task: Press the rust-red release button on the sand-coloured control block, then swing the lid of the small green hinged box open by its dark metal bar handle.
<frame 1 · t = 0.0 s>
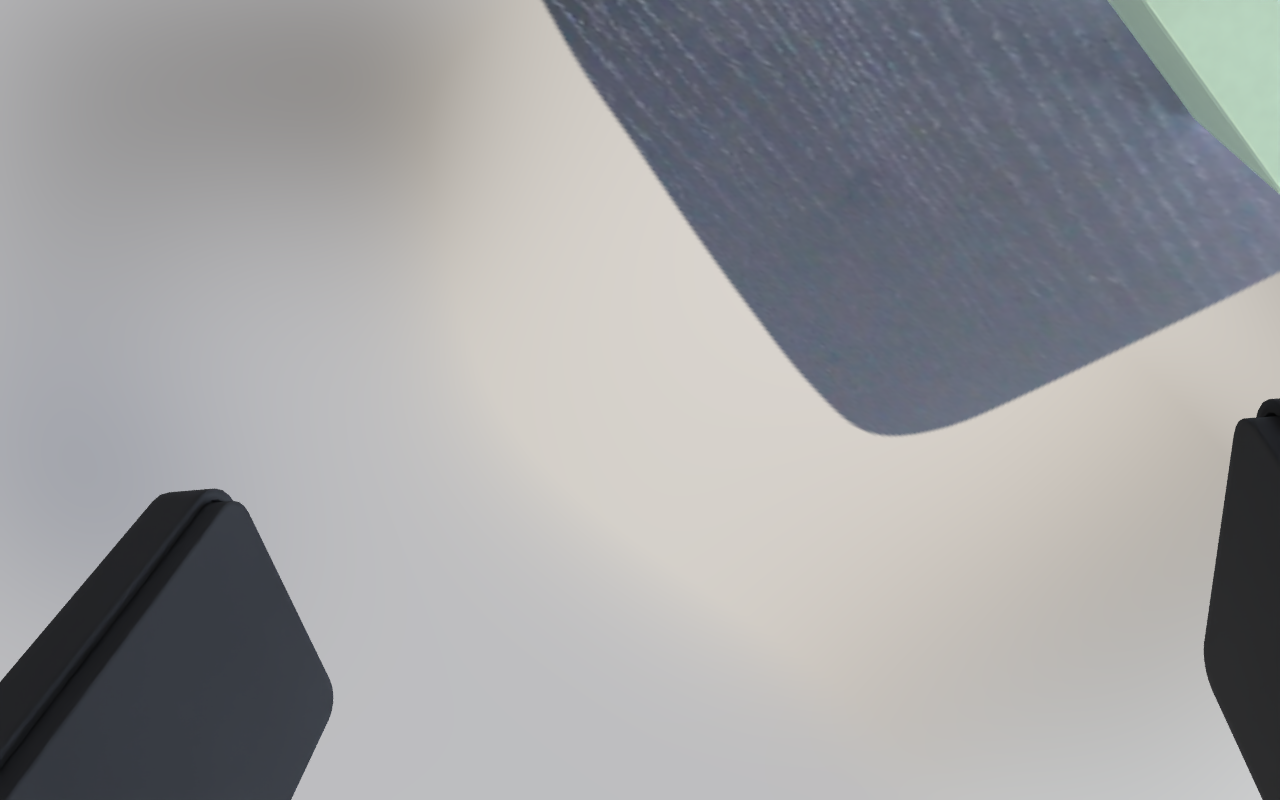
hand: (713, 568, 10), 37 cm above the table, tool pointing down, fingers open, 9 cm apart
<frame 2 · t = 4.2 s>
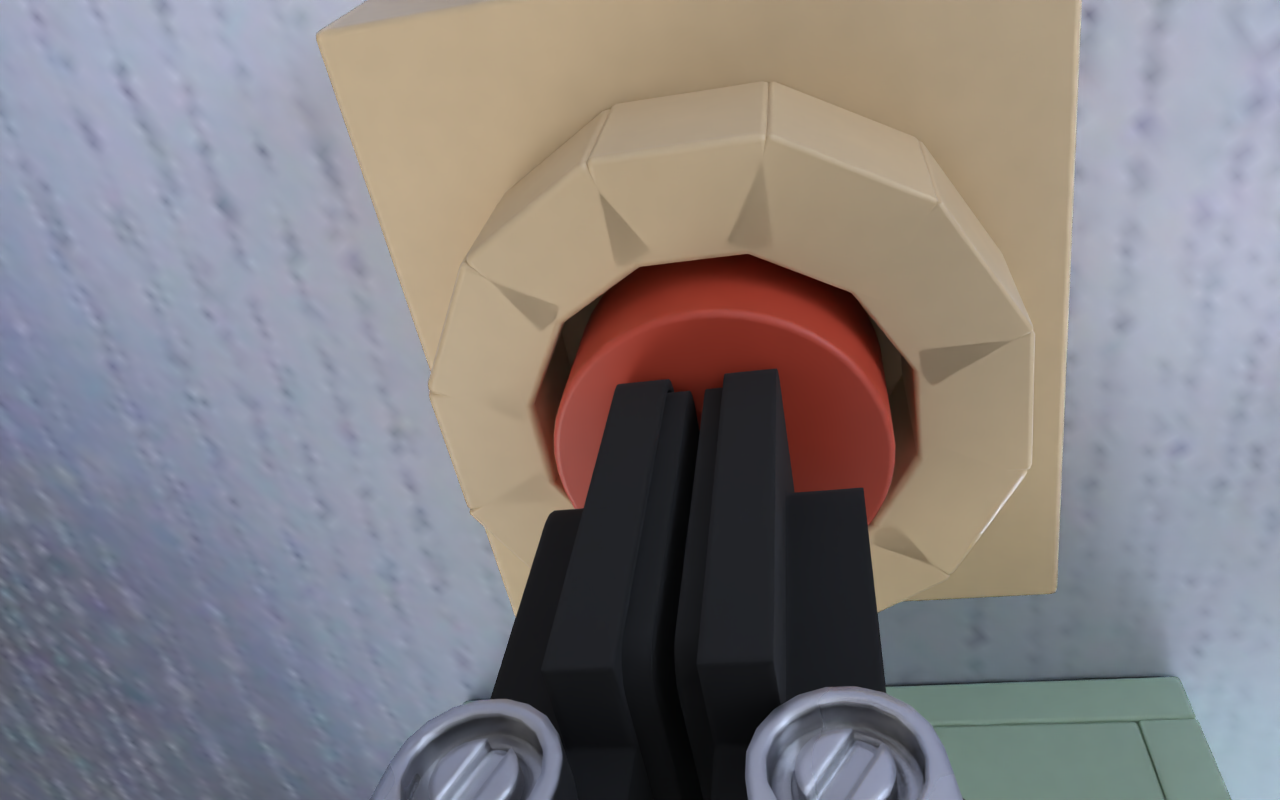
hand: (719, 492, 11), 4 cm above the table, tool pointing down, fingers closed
button: (724, 416, 11), point 3 cm above the table, slide at -0.7 cm, touching gripper
control block: (735, 287, 14), on the table
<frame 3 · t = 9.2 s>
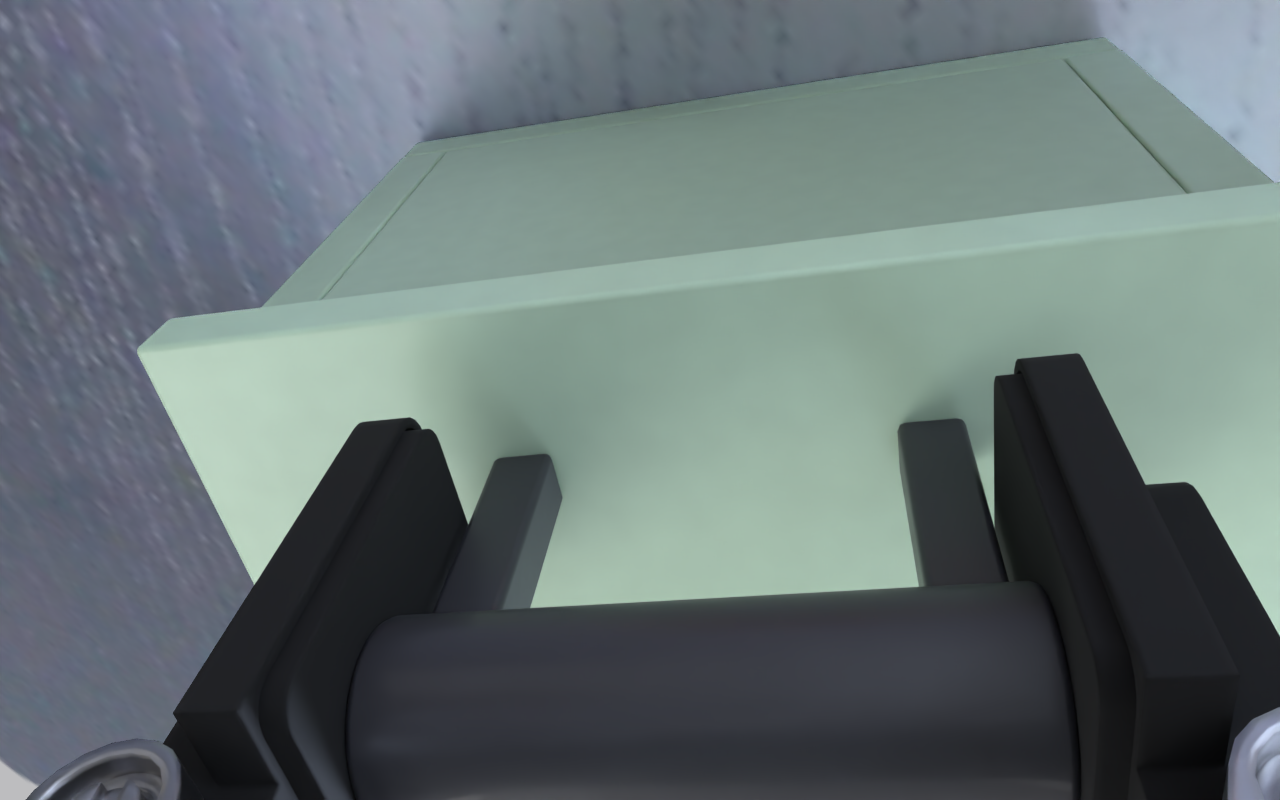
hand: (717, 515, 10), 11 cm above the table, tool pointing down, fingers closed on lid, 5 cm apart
green hinged box: (782, 423, 22), on the table
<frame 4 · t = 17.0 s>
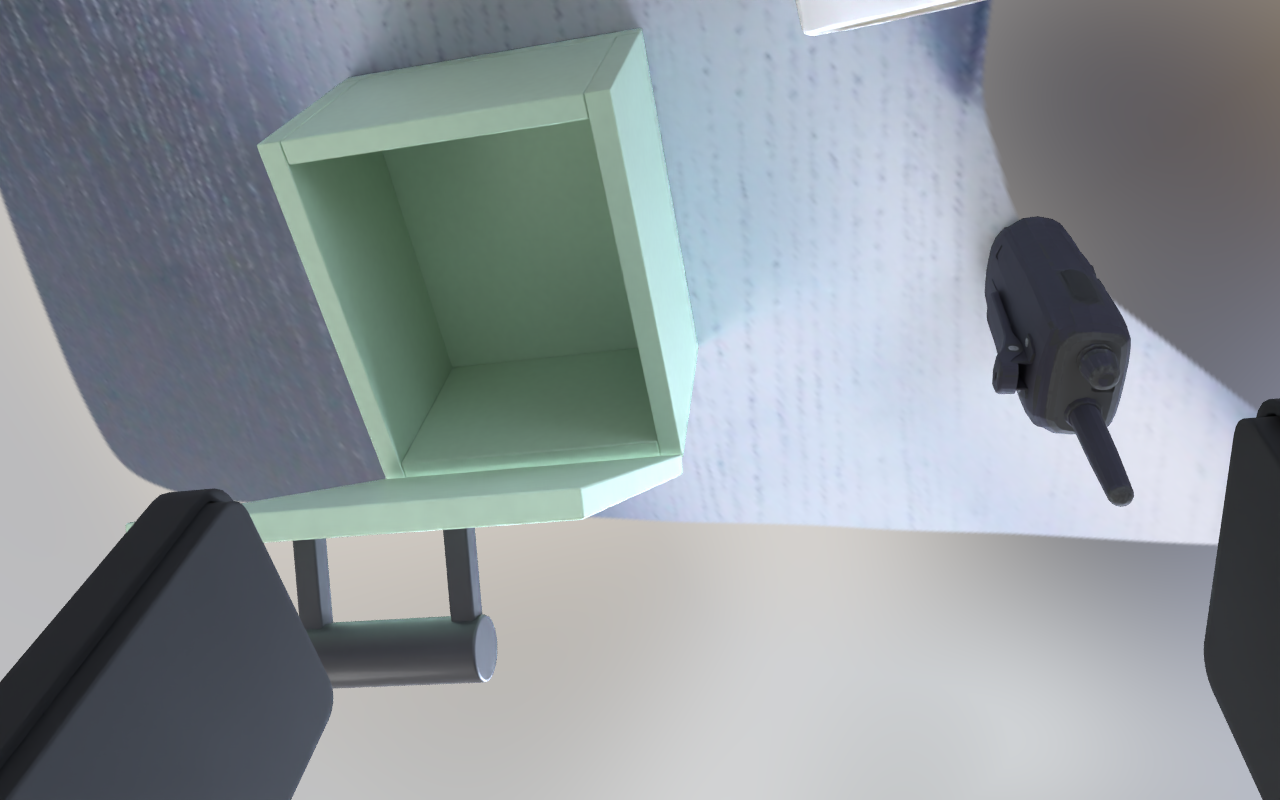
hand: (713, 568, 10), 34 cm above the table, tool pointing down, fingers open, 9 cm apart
two-way radio: (1010, 265, 44), on the table
green hinged box: (532, 220, 45), on the table
lid: (462, 560, 34), point 17 cm above the table, hinge at 57.5°
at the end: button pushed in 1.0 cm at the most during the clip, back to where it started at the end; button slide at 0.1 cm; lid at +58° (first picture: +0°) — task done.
